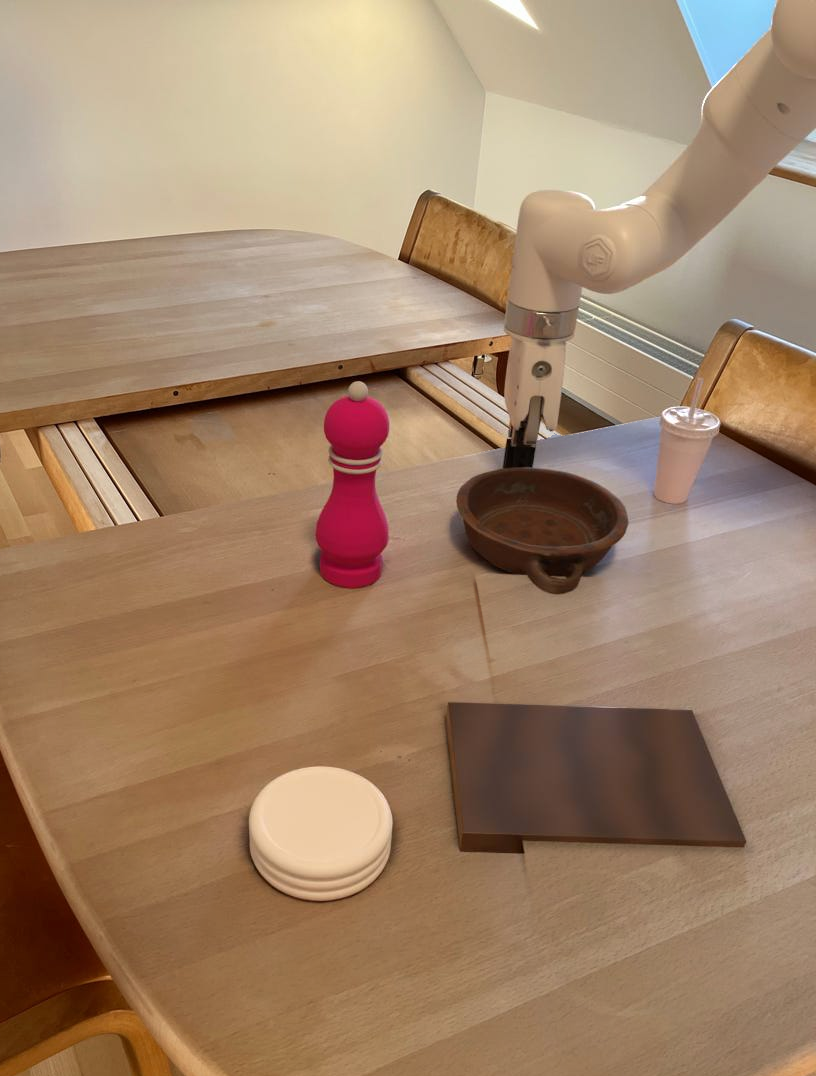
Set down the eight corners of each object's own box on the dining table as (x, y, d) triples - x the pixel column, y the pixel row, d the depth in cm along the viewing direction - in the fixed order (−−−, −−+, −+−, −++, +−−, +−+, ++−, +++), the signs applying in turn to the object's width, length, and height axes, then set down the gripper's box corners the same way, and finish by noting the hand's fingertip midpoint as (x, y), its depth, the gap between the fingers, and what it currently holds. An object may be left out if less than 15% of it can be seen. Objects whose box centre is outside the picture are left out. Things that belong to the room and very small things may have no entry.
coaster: (327, 776, 75) (328, 743, 73) (418, 854, 69) (422, 820, 67) (222, 840, 69) (219, 806, 67) (311, 930, 64) (311, 896, 61)
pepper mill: (390, 556, 100) (403, 370, 88) (381, 595, 94) (393, 402, 82) (322, 548, 101) (325, 363, 89) (308, 586, 95) (310, 394, 83)
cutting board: (686, 727, 80) (692, 709, 79) (738, 860, 69) (747, 841, 68) (445, 720, 80) (447, 701, 79) (459, 851, 69) (462, 832, 68)
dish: (580, 492, 112) (588, 453, 109) (652, 601, 95) (664, 558, 92) (433, 497, 110) (437, 458, 107) (478, 610, 93) (485, 566, 90)
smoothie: (697, 486, 114) (729, 372, 106) (700, 513, 109) (735, 395, 101) (641, 479, 115) (669, 366, 107) (642, 505, 110) (671, 388, 102)
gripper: (589, 345, 97) (558, 505, 108) (563, 296, 109) (538, 445, 120) (514, 342, 97) (491, 503, 108) (497, 294, 109) (478, 443, 120)
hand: (516, 472), depth 114 cm, fingers closed
